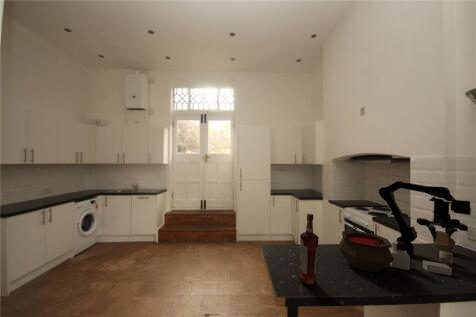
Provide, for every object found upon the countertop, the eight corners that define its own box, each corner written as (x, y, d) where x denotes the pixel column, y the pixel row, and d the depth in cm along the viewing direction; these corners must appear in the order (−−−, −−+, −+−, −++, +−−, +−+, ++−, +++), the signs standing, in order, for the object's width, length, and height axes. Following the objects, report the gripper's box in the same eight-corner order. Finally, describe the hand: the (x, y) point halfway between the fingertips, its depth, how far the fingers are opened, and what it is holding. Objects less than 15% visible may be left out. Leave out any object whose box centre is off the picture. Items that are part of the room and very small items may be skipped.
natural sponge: (436, 252, 122) (437, 235, 123) (430, 247, 130) (431, 231, 131) (457, 256, 118) (458, 239, 119) (450, 250, 126) (450, 234, 127)
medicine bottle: (405, 264, 106) (405, 240, 106) (409, 270, 99) (410, 245, 100) (388, 261, 109) (388, 238, 109) (391, 267, 102) (392, 242, 103)
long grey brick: (426, 271, 100) (427, 264, 100) (422, 267, 104) (422, 260, 104) (451, 276, 97) (451, 268, 97) (445, 271, 101) (446, 264, 101)
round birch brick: (442, 263, 109) (442, 253, 109) (437, 259, 114) (437, 250, 114) (454, 265, 107) (455, 255, 107) (449, 261, 112) (449, 252, 112)
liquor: (296, 276, 90) (298, 211, 91) (312, 276, 90) (315, 212, 91) (302, 286, 83) (304, 216, 83) (320, 287, 83) (322, 217, 84)
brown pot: (407, 280, 91) (408, 243, 91) (350, 276, 92) (352, 239, 92) (374, 255, 115) (375, 226, 115) (329, 252, 116) (331, 223, 116)
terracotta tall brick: (436, 244, 107) (437, 232, 107) (432, 241, 111) (433, 230, 112) (448, 246, 106) (448, 234, 106) (443, 243, 110) (444, 231, 110)
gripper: (424, 211, 105) (424, 242, 105) (475, 216, 98) (474, 250, 97) (416, 207, 115) (415, 235, 115) (461, 212, 108) (461, 242, 108)
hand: (440, 240), depth 109 cm, fingers closed on terracotta tall brick, 4 cm apart
